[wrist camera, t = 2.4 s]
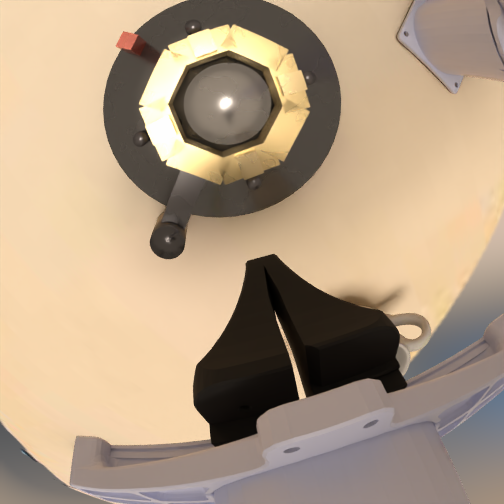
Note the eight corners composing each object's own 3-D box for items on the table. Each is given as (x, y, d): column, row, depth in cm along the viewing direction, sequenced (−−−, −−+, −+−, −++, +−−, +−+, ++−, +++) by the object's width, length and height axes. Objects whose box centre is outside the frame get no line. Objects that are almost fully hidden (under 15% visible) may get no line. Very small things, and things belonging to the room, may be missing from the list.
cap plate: (169, -25, 11) (159, -57, 7) (366, 66, 17) (407, 62, 12) (82, 170, 18) (50, 193, 13) (273, 239, 23) (289, 276, 19)
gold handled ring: (189, 18, 13) (186, 3, 10) (317, 75, 16) (336, 72, 13) (109, 215, 19) (96, 235, 16) (225, 255, 22) (228, 279, 19)
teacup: (300, 370, 33) (318, 424, 26) (277, 314, 27) (297, 380, 21) (399, 327, 32) (429, 372, 25) (401, 262, 27) (445, 311, 20)
